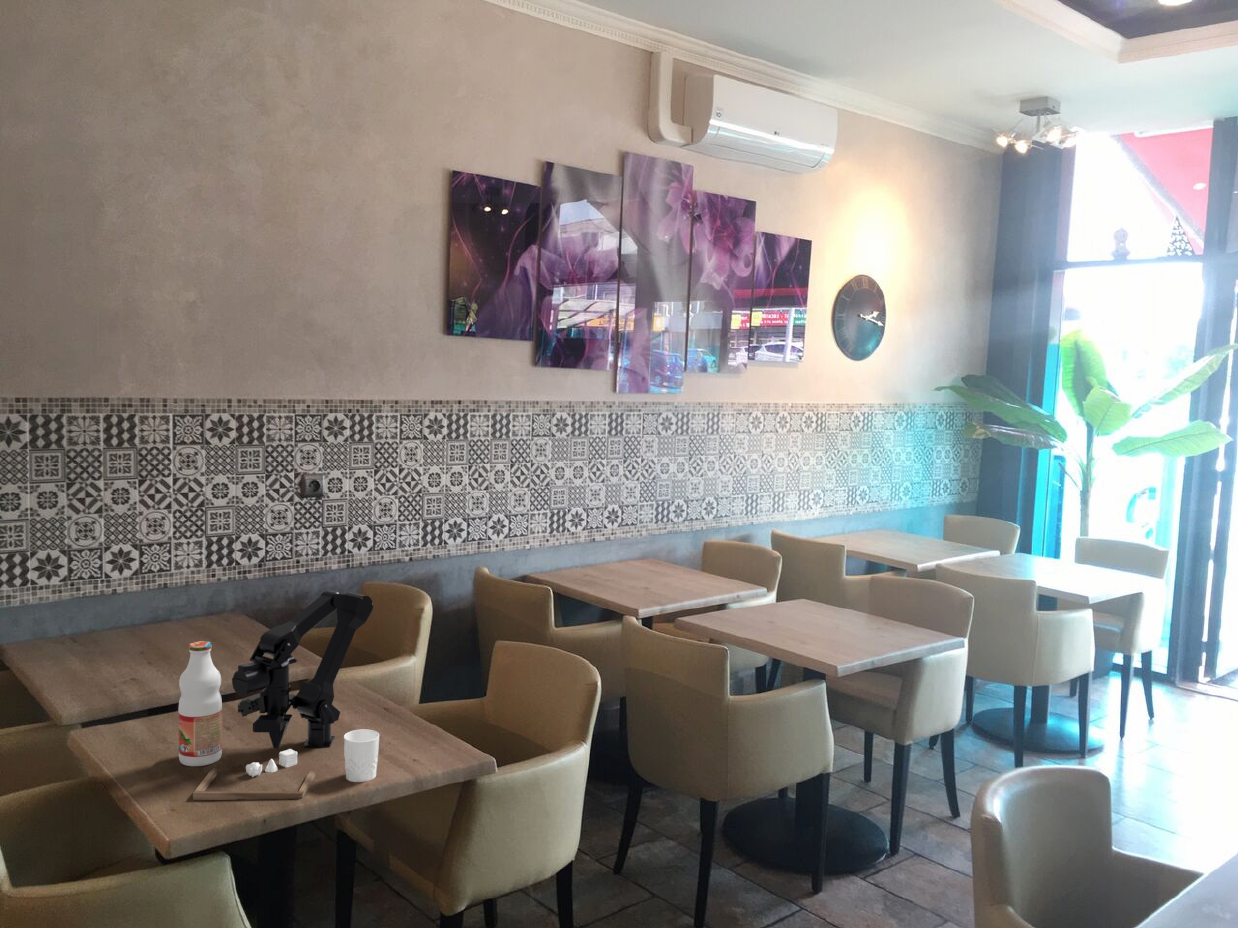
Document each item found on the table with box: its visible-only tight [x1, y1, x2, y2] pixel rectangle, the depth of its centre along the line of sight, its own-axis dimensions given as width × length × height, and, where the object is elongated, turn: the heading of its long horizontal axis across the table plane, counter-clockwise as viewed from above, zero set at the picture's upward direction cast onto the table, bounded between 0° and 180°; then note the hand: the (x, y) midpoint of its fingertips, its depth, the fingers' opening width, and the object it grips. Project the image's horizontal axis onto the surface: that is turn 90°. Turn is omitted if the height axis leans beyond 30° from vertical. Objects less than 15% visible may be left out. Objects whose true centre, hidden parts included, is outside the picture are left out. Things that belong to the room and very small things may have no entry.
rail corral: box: [192, 768, 316, 801], centre depth 223 cm, size 13×23×2 cm, turn 95°
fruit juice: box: [178, 640, 223, 767], centre depth 235 cm, size 9×9×28 cm
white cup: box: [343, 728, 380, 783], centre depth 230 cm, size 8×8×10 cm
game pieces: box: [245, 748, 299, 778], centre depth 232 cm, size 12×3×3 cm, turn 141°
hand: (276, 747), depth 240 cm, fingers closed
